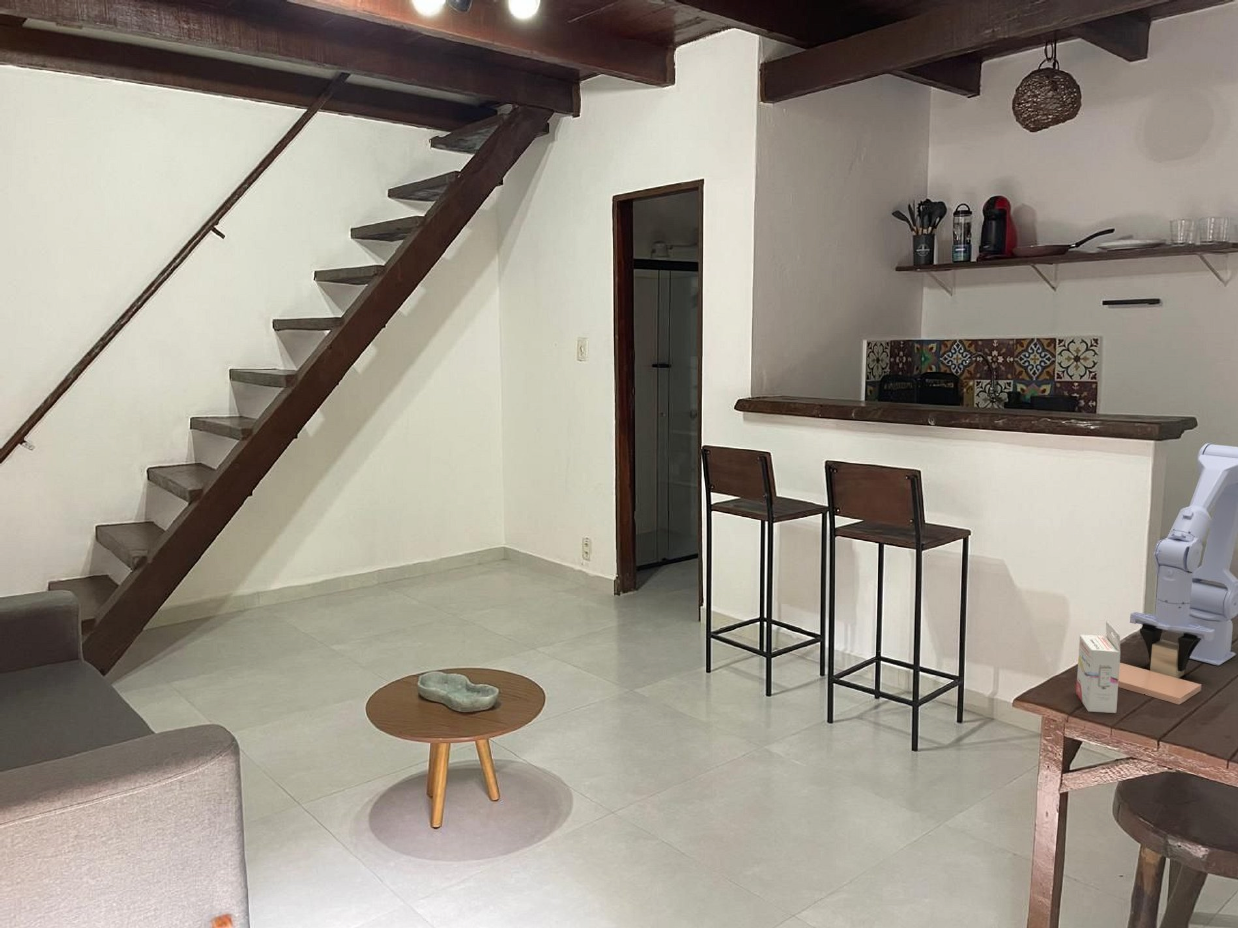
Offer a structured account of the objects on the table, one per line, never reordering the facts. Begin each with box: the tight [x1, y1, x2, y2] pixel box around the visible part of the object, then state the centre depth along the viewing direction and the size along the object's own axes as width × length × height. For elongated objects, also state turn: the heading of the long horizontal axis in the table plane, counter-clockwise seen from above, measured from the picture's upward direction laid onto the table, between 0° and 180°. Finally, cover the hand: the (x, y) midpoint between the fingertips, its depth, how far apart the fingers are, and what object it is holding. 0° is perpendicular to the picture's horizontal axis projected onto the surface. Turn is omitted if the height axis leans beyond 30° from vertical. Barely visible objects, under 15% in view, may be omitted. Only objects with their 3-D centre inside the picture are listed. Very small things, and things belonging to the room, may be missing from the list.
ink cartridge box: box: [1075, 620, 1121, 714], centre depth 169 cm, size 9×5×15 cm, turn 168°
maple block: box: [1149, 639, 1185, 679], centre depth 183 cm, size 4×4×6 cm
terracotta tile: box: [1118, 662, 1202, 705], centre depth 178 cm, size 10×15×1 cm, turn 39°
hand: (1167, 666), depth 183 cm, fingers closed on maple block, 4 cm apart
